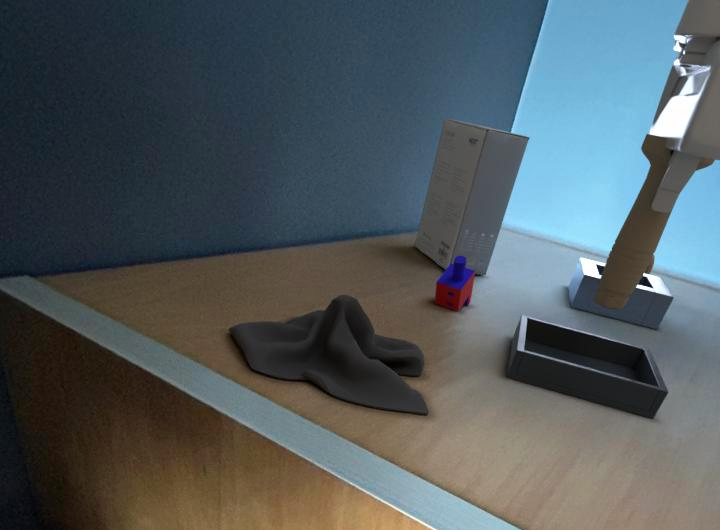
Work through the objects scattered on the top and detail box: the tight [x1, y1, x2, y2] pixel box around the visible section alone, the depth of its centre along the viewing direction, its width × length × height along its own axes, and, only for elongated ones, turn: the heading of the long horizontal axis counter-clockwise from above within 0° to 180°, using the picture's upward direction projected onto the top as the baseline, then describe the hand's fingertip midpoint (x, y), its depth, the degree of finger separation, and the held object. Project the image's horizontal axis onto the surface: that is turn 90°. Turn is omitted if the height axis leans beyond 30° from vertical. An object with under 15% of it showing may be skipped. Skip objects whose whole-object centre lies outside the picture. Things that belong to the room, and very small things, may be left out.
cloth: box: [228, 294, 430, 416], centre depth 55 cm, size 22×19×6 cm
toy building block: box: [434, 256, 476, 312], centre depth 77 cm, size 4×4×8 cm
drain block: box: [567, 257, 675, 330], centre depth 92 cm, size 13×13×5 cm
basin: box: [506, 314, 669, 419], centre depth 65 cm, size 16×14×3 cm
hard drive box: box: [414, 117, 531, 276], centre depth 94 cm, size 16×8×20 cm, turn 15°
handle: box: [594, 133, 716, 310], centre depth 56 cm, size 5×6×15 cm
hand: (653, 207), depth 55 cm, fingers closed on handle, 4 cm apart
